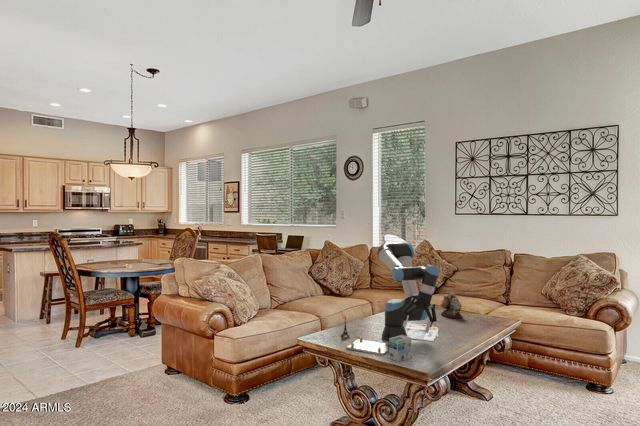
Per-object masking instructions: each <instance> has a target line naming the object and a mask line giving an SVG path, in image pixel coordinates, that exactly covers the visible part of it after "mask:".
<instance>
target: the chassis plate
mask: <svg viewBox="0 0 640 426" xmlns="http://www.w3.org/2000/svg"><path fill="white" fill-rule="evenodd" d="M345 348H346V350H350V351H355V352H360V353H367V354H371V355H372V354H373V355H377V356H384V355H385V354H387V353H389V342H388V341H385V342H384V343H383V342H377V341H373V340H372V341H371V340H365V339H363V336H359V339H358V338H356V340H354V341H353V342H351V343H350V344H348V345H347V346H346V347H345Z"/></svg>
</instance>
